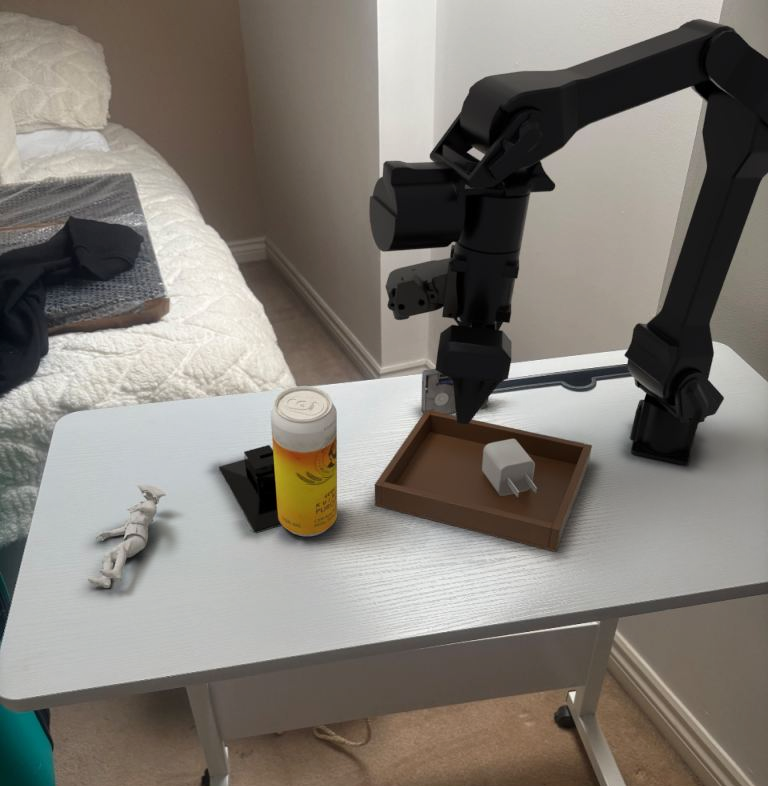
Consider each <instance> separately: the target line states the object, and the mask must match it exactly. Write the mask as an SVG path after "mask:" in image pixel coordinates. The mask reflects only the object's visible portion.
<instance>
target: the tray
mask: <svg viewBox="0 0 768 786" xmlns="http://www.w3.org/2000/svg"><path fill="white" fill-rule="evenodd" d="M508 439H516V440H517V442H518V443H519V444H520V445H521V447H522V448H523V449H524V450H525V452H526V453H527V454H528V455H529V457H530V458H531V459H532V460H533V462H534V463H535V468H534V475H533V483H534V485H535V486H536V487H537V491H536V493H535V492H534V491H533V490H532V489H531V488H530V489H529V490H527V491H523V492H519V496H518V497H517V496H516V495H515V494H510V495H505V496H501V495H499V494H498V492H497V491H496V489H495V488H494V487H493V485H492V484H491V482H490V481H489V480H488V478H487V477H486V475H485V474H484V473H483V471H482V462H483V451H484V447H485V446H486V445H487V444H489V443H494V442H499V441H504V440H508ZM592 448H593V444H588V443H584V442H580V441H574V440H570V439H566V438H561V437H557V436H551V435H546V434H542V433H537V432H532V431H528V430H524V429H518V428H514V427H509V426H504V425H500V424H495V423H490V422H486V421H481V420H477V419H472V420H471V421H470V423H469V424H459V423H457V418H456V415H454V414H444V413H440V412H435V411H430V410H426V411H425V412H424V414H423V413H422V415H421V416H420V417H419V419H418V421H417V422H416V424H415V425H414V427H413V428H412V429H411V430H410V432H409V434H408V435H407V437H406V438H405V440H404V441H403V442H402V444H401V445H400V447H399V448H398V450H397V451H396V453H395V454H394V456H393V457H392V459H391V460H390V461H389V463H388V464H387V466H386V467H385V469H384V470H383V471H382V472H381V474H380V476H379V477H378V479H377V480H376V482H375V483H374V506H375V507H379V508H383V509H387V510H391V511H394V512H399V513H402V514H406V515H410V516H413V517H414V516H415V517H417V518H422V519H425V520H429V521H434V522H437V523H441V524H446V525H450V526H453V527H457V528H460V529H464V530H468V531H473V532H476V533H481V534H484V535H488V536H493V537H496V538H500V539H502V540H503V539H504V540H507V541H511V542H516V543H520V544H523V545H528V546H532V547H534V548H535V547H536V548H539V549H543V550H547V551H551V552H555V553H556V552H557V549H558V547H559V545H560V542H561V540H562V537H563V534H564V531H565V529H566V526H567V523H568V521H569V518H570V515H571V512H572V510H573V508H574V505H575V503H576V500H577V497H578V495H579V491H580V489H581V487H582V484H583V481H584V478H585V476H586V473H587V470H588V468H589V464H590V459H591V454H592ZM534 490H535V488H534Z"/></svg>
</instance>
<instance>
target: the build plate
mask: <svg viewBox="0 0 768 786" xmlns="http://www.w3.org/2000/svg"><path fill="white" fill-rule="evenodd" d="M243 454H244V457H243V459H241V460H238V461H237V460H236V461H234V462H230V463H227V464H224V465H223V464H222V465H219V466H218V471H219V473H220V474H221V476H222V478H223V480H224V481H225V483H226V485H227V487H228V488H229V491H230V493H231V494H232V497H234V499H235V500H236V503H237V504H238V506H239V508H240V510H241V511H242V514H243V515H244V517H245V520H244V522H245V524H246V525H247V527H248V529H249V531H251V532H254V533H255V534H257V533H260V532H263V531H266V530H270V529H273V528H276V527H280V526H283V525H282V524H281V523H280V521H279V518H278V509H277V495H276V482H275V468H274V455H273V447H271V445H270V444H267V445H263V446H260V447H256V448H253V449H249V450H245V451H243Z"/></svg>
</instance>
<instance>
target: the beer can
mask: <svg viewBox="0 0 768 786" xmlns="http://www.w3.org/2000/svg"><path fill="white" fill-rule="evenodd" d="M274 399H275V400H274V403H273V405H272V407H271V409H270V425H271V426H270V427H271V438H272V439H271V440H272V450H273V455H274V468H275V482H276V495H277V509H278V518H279V521H280V523H281V524H282V525H281V526H282V527H283V528H285V530H288V531H289V532H290V533H292V534H294V535H296V536H301V537H315V536H318V535H321V534H322V533H323V534H324V532H326V531H327V530H328V529H329V528H331V527H332V526H333V524H335V522H336V520H337V517H338V437H337V436H338V413H337V412H338V411H337V407H336V406H335V404H334V403H333V400H332V397H331V396H330V395H329V393H327V391H325V390H323V389H322V388H318V387H314V386H310V385H309V386H308V385H300V386H299V385H298V386H293V387H289V388H287V389H284V390H283V391H281V392H280V393H279V394H278V395H277V396H276V397H275V398H274Z"/></svg>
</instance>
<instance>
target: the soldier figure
mask: <svg viewBox="0 0 768 786" xmlns="http://www.w3.org/2000/svg"><path fill="white" fill-rule="evenodd" d="M137 488H138V490H140V492H141V496H142V497H143V498H145V500H141V501H139V502H138V503H136V505H133V506H129V507H128V508H127V509H126V510H127V511H129V513H130V515H129V518H128V521H125V523H124V526H120V527H117V528H113V529H109V530H106V531H101V532H100V533H97V535H96V536H95V537H94V538H95V540H97V539H98V538H100V537H102V539H101V542H103V541H104V540H106V538H108V537H109V536H110V537H118V536H123V535H124V536H123V541H122V542H120V543H119V544H117V545H115V546H114V547H113V548H111V549H110V550H108V551H106V552H105V553H104V555H103V559H102V561H101V565H102V569H100V570H99V573H100V574H101V577H99V578H98V577H97V578H94V577H88V579H87V581H88V582H89V583H90V584H92V585H93V586H97V587H102V588H105V589H110V588H111V585H112V580H113V581H117V582H121V581H122V579H123V571H124V568H125V565H126V561H127V559H128V558H132V557H133V556H134V557H135V555H137V554H138V553H139V552H140V551H142V550H143V549H145V547H146V545H147V544H148V539H149V538H148V537H149V529H148V528H149V527H150V526H151V524H152V523H153V522H154V518H155V516H156V513H157V512H158V511H157V509H158V508H157V507H158V506H157V504H159V502H160V498H162V497H164V496H166V495H167V494H166V493H165V492H164V491H163V490H162V489H160V488H158V487H156V486H152V485H148V484H138V485H137ZM114 562H115V563H114Z"/></svg>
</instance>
